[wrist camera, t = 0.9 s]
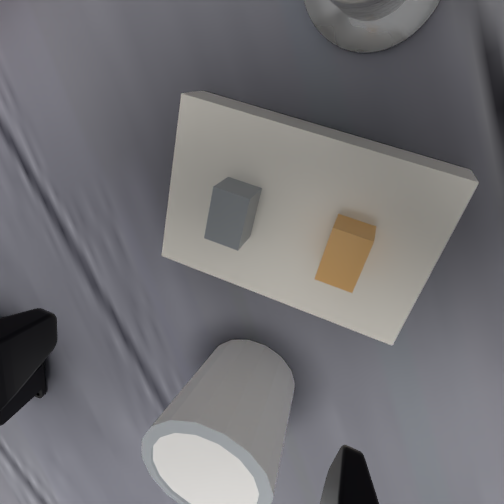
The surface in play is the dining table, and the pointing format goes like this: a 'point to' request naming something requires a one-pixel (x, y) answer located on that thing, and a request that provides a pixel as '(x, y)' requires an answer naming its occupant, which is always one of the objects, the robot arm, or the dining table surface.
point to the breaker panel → (309, 212)
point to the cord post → (369, 21)
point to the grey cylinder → (224, 429)
